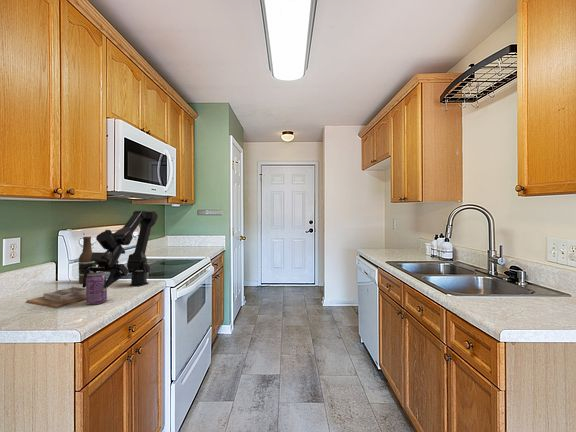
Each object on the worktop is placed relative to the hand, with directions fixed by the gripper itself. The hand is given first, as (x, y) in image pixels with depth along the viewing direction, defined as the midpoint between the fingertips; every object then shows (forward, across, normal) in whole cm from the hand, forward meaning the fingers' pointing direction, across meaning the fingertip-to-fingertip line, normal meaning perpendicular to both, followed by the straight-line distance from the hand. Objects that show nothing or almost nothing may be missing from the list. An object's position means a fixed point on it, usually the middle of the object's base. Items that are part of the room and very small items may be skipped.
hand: (94, 287), depth 121 cm
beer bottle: (-20, -30, +30) cm, 47 cm away
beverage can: (+4, 0, +6) cm, 7 cm away
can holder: (0, -17, +9) cm, 20 cm away
